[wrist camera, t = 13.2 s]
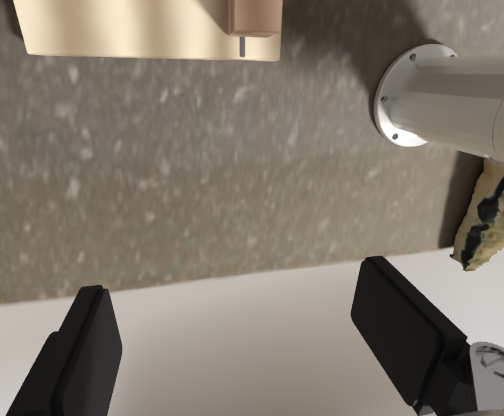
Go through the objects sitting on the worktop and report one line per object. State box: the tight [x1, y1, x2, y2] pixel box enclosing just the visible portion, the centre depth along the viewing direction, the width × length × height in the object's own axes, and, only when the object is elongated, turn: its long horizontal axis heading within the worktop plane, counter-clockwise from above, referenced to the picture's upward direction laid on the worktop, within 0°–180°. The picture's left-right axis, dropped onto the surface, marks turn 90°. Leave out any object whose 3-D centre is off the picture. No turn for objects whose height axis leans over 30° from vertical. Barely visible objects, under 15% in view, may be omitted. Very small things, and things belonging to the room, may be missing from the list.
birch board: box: [13, 0, 283, 61], centre depth 28 cm, size 24×9×3 cm, turn 89°
